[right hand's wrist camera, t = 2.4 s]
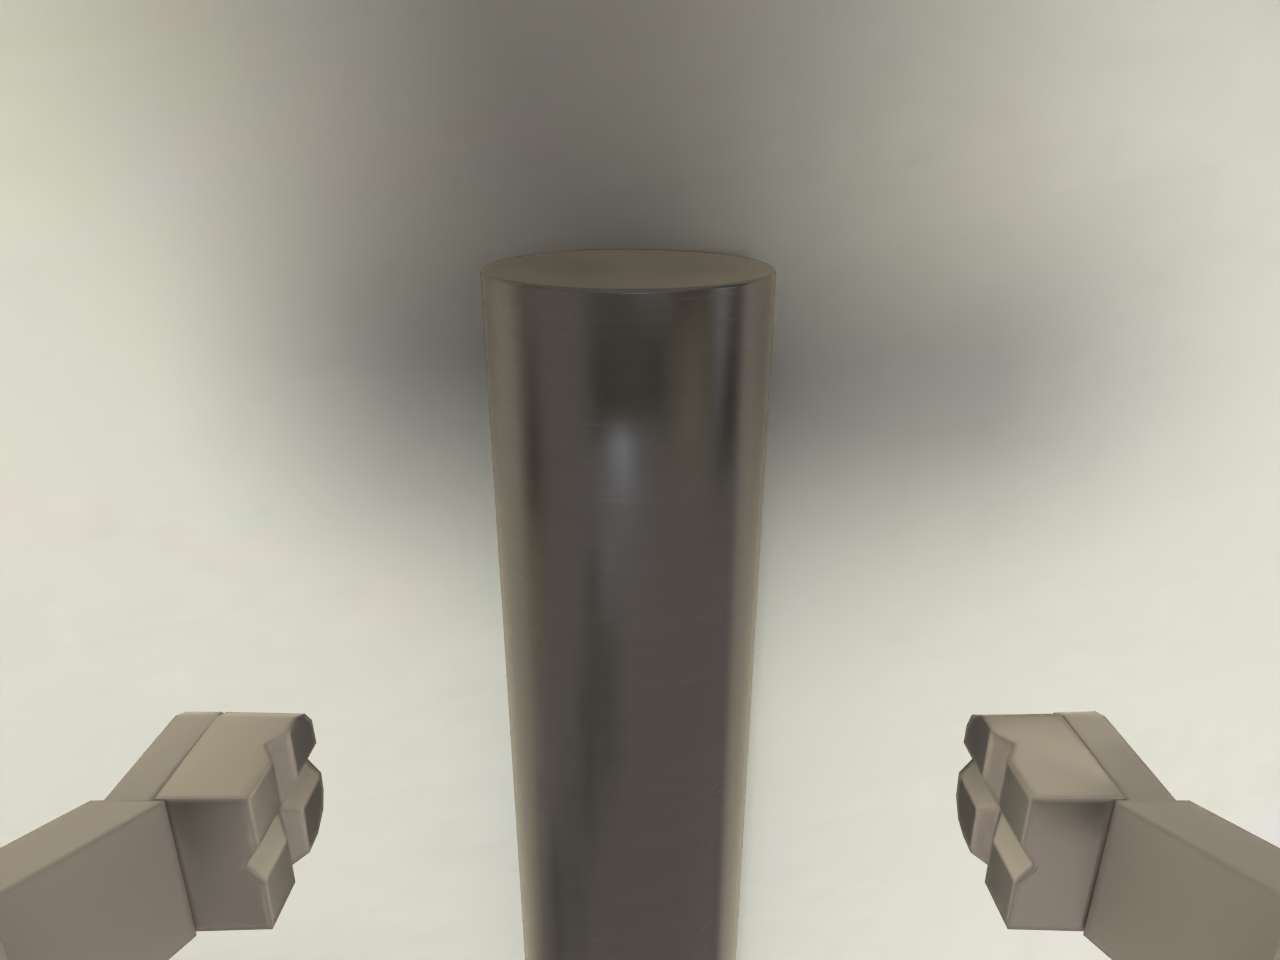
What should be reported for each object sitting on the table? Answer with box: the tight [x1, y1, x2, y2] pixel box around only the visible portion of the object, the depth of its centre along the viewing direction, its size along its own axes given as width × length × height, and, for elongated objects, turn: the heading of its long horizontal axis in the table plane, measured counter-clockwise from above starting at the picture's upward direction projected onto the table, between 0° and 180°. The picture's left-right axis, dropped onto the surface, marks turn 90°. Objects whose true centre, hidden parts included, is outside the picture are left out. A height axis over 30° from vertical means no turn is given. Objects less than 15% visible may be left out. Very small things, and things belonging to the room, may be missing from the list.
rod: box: [481, 250, 776, 960], centre depth 23 cm, size 25×6×6 cm, turn 0°
